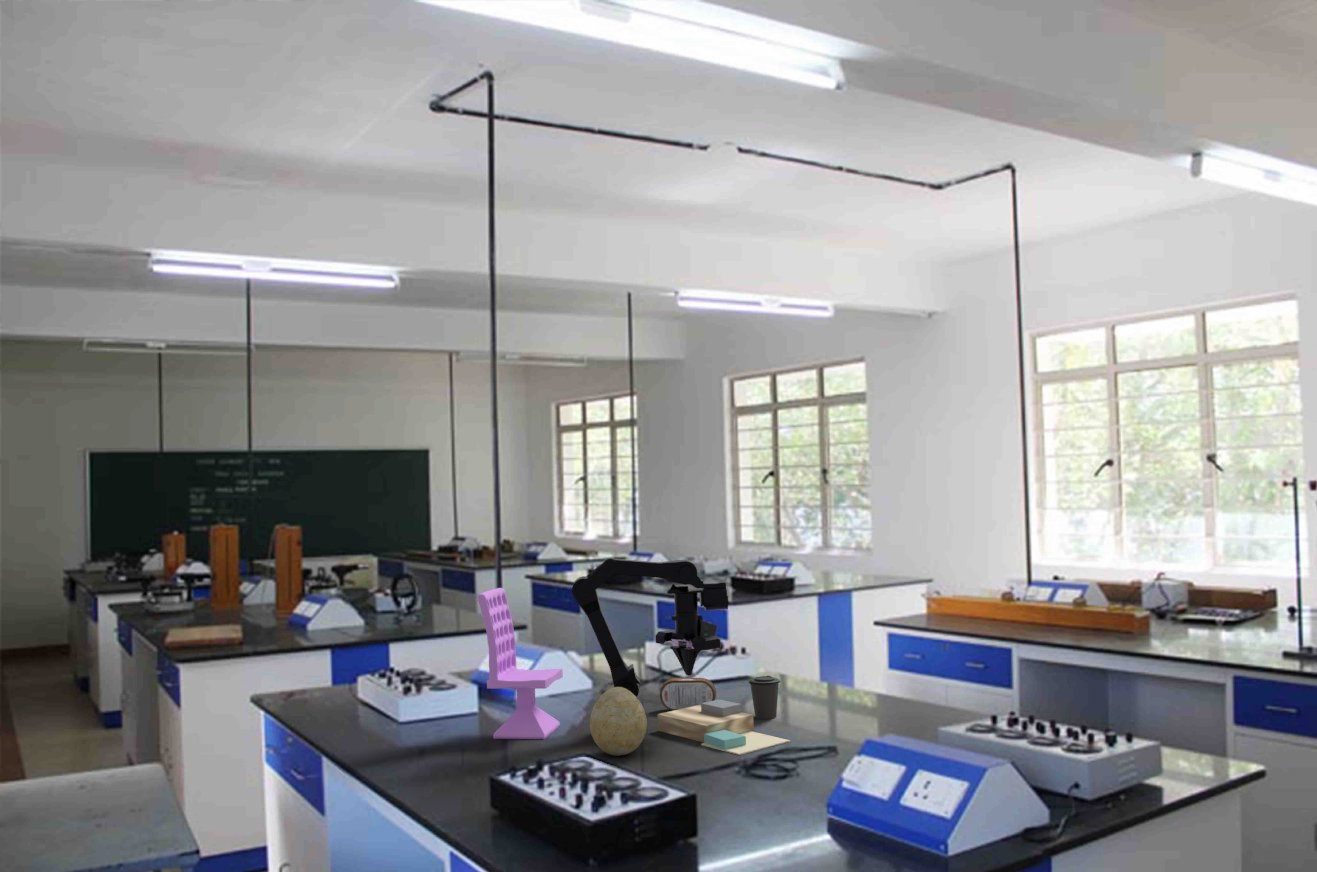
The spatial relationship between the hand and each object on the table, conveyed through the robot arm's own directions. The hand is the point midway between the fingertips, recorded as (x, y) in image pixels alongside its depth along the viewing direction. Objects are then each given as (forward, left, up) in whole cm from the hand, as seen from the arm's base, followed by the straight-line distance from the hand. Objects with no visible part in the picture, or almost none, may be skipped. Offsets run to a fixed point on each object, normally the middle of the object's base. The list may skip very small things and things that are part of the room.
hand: (688, 674), depth 255 cm
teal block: (-5, -18, -13) cm, 23 cm away
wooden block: (+1, -5, -13) cm, 14 cm away
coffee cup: (+21, -5, -13) cm, 25 cm away
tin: (+13, +16, -13) cm, 25 cm away
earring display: (-31, +28, -13) cm, 44 cm away
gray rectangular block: (+5, -6, -9) cm, 12 cm away
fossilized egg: (-27, -7, -13) cm, 31 cm away
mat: (-1, -20, -13) cm, 24 cm away
